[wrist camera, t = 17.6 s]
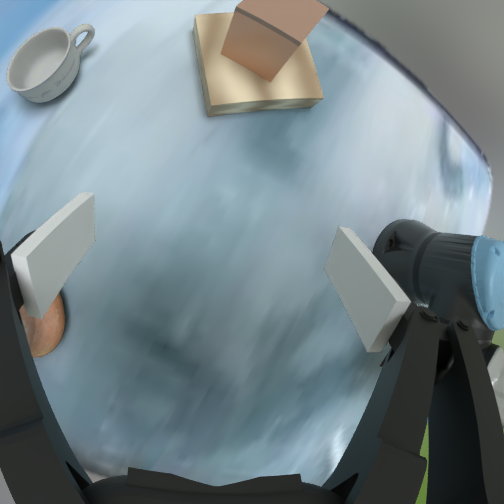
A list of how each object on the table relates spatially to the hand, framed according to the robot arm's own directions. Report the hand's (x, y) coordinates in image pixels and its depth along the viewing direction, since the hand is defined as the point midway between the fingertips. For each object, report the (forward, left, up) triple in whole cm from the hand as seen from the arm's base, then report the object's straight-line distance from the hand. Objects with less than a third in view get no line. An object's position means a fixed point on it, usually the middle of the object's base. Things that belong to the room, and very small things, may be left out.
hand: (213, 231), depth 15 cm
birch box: (-13, -22, -26) cm, 36 cm away
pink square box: (-13, -22, -21) cm, 33 cm away
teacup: (+16, -28, -25) cm, 41 cm away
